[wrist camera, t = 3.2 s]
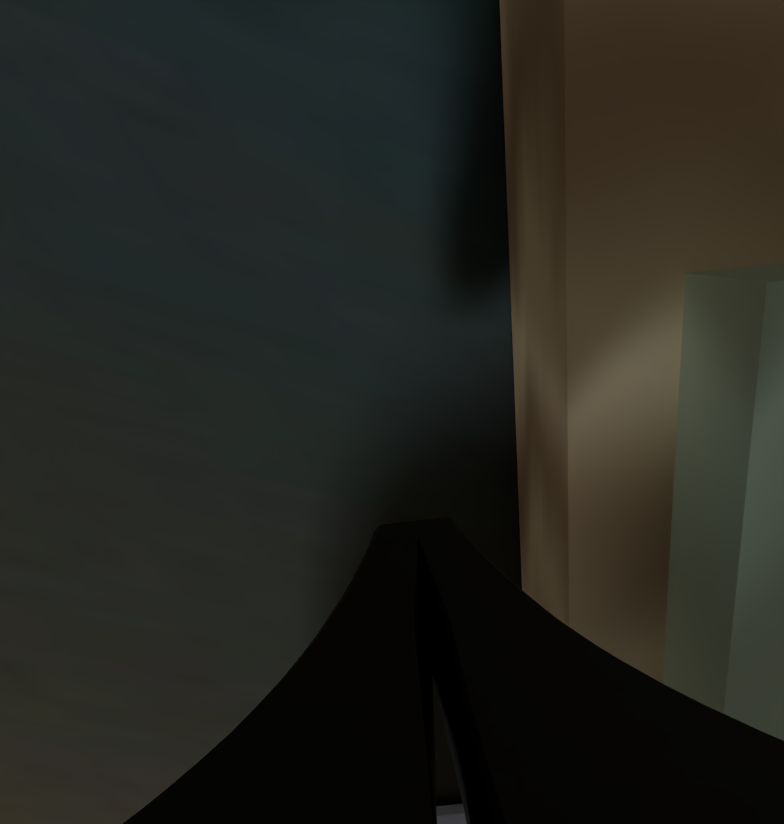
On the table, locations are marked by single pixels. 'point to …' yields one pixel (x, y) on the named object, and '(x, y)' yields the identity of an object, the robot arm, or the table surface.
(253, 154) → the table surface
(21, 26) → the table surface
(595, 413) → the riser
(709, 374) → the tile
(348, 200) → the table surface
